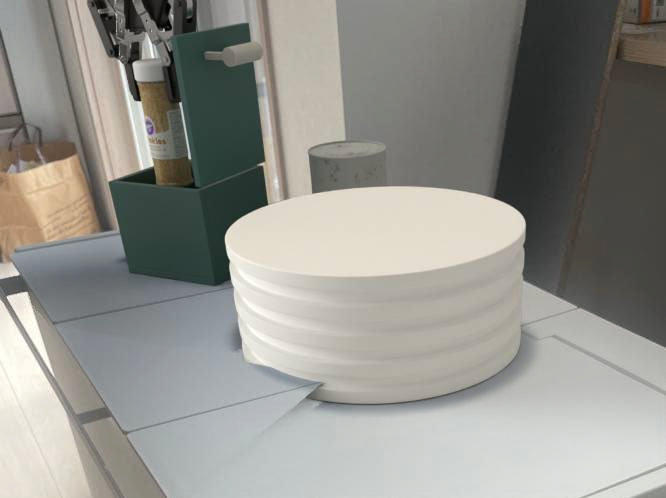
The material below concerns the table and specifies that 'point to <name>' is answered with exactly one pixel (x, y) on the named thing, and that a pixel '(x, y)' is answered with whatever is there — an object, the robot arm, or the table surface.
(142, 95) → the sprinkles bottle
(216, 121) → the lid
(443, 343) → the plate stack
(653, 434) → the table surface
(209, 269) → the chest
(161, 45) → the robot arm
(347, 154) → the speckled concrete cylinder
